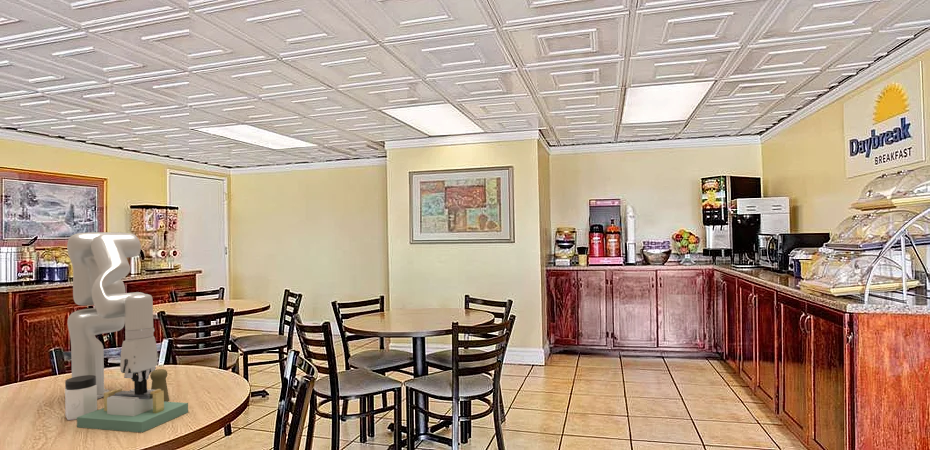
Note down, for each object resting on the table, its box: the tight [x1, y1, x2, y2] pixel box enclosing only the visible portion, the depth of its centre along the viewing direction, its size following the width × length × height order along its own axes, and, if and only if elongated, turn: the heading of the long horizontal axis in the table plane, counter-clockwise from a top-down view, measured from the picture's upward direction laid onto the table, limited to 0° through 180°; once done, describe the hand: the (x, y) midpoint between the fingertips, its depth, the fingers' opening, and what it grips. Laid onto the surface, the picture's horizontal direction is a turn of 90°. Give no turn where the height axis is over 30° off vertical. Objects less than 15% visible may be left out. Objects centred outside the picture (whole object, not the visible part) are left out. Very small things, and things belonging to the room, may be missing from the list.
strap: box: [115, 390, 154, 399], centre depth 169 cm, size 13×3×2 cm, turn 75°
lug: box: [151, 389, 164, 413], centre depth 167 cm, size 2×3×6 cm, turn 165°
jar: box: [64, 375, 98, 421], centre depth 175 cm, size 9×8×12 cm
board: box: [76, 388, 189, 433], centre depth 169 cm, size 24×18×8 cm
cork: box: [149, 368, 170, 402], centre depth 188 cm, size 6×6×11 cm
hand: (140, 393), depth 169 cm, fingers closed
